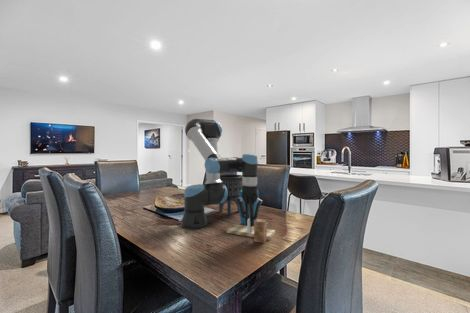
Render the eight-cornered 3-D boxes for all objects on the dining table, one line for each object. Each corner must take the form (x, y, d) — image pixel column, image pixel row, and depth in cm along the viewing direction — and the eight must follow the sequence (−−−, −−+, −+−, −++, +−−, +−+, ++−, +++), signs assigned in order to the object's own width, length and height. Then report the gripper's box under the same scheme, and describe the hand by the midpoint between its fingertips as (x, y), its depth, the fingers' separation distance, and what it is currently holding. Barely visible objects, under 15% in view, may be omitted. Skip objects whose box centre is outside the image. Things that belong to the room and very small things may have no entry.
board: (226, 232, 121) (226, 229, 121) (234, 226, 130) (234, 223, 130) (269, 240, 111) (269, 236, 111) (275, 233, 120) (275, 229, 120)
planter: (210, 213, 157) (210, 176, 157) (226, 208, 174) (226, 173, 173) (234, 218, 147) (234, 178, 146) (248, 211, 163) (248, 175, 163)
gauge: (253, 241, 109) (253, 221, 108) (261, 233, 120) (261, 215, 119) (263, 243, 107) (263, 222, 106) (270, 235, 117) (271, 216, 117)
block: (243, 226, 132) (243, 192, 131) (238, 223, 136) (238, 190, 135) (259, 222, 139) (259, 190, 138) (253, 220, 143) (254, 189, 142)
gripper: (234, 185, 111) (234, 232, 112) (259, 187, 106) (259, 236, 106) (240, 183, 118) (240, 228, 118) (264, 184, 112) (264, 231, 113)
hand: (249, 232), depth 112 cm, fingers closed
